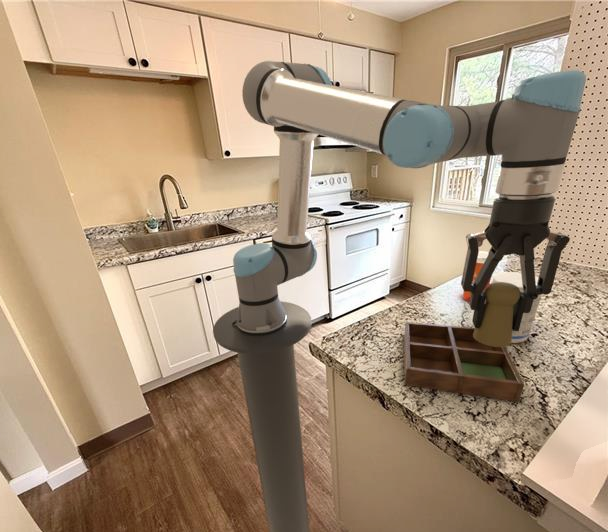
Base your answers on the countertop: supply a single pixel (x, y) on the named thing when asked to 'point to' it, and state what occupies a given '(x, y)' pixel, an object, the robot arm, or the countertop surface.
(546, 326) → the countertop surface
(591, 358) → the countertop surface
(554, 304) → the countertop surface
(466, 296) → the paper cup
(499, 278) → the supplement tub
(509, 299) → the cork
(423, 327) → the grid
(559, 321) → the countertop surface
